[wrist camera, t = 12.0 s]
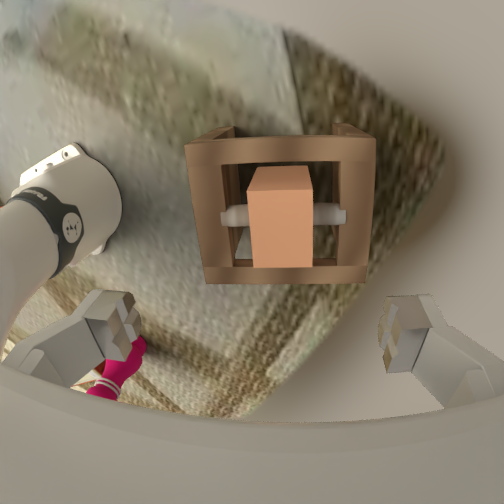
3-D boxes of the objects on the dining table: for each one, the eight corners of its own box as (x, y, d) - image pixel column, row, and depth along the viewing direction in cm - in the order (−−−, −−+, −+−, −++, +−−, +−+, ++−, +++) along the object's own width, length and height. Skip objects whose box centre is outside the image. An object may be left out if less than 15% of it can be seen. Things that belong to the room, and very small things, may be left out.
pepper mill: (154, 353, 59) (118, 434, 41) (126, 353, 60) (88, 427, 43) (139, 327, 56) (96, 410, 38) (111, 328, 57) (66, 403, 40)
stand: (229, 228, 43) (205, 285, 31) (218, 127, 37) (183, 145, 25) (345, 226, 41) (365, 284, 29) (347, 123, 34) (376, 139, 22)
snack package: (76, 374, 70) (66, 392, 64) (60, 358, 68) (48, 375, 62) (119, 360, 63) (107, 382, 57) (99, 340, 60) (85, 362, 54)
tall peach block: (261, 228, 34) (253, 267, 27) (257, 167, 30) (246, 191, 23) (308, 227, 33) (312, 267, 26) (307, 165, 30) (312, 189, 23)
